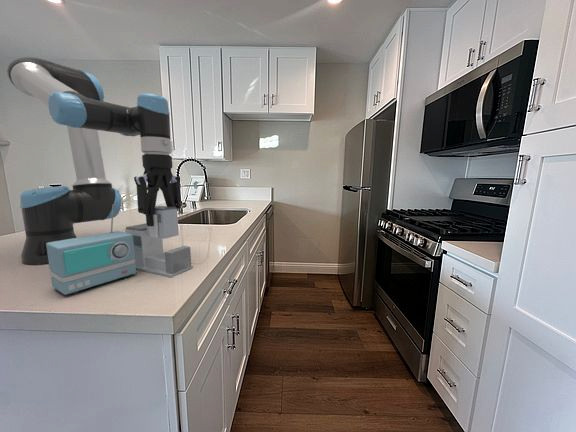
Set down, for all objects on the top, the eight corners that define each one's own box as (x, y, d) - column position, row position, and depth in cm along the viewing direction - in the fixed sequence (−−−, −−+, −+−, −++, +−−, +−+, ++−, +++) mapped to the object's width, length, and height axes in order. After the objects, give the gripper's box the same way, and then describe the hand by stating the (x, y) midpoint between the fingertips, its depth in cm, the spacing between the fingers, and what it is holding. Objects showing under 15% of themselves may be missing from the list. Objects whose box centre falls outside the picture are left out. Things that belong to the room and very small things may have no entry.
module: (146, 236, 74) (144, 207, 72) (161, 232, 78) (160, 205, 77) (163, 239, 71) (162, 209, 70) (178, 235, 76) (177, 207, 74)
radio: (66, 300, 57) (54, 212, 53) (52, 290, 61) (40, 208, 58) (139, 276, 70) (132, 205, 67) (122, 270, 75) (116, 202, 71)
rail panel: (124, 266, 77) (123, 255, 76) (147, 258, 84) (146, 248, 84) (171, 277, 69) (170, 265, 69) (192, 268, 77) (192, 256, 76)
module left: (126, 264, 77) (122, 227, 75) (148, 257, 84) (145, 223, 82) (142, 268, 74) (138, 229, 72) (163, 260, 81) (161, 225, 79)
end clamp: (166, 272, 71) (164, 252, 70) (185, 264, 78) (184, 245, 77) (172, 273, 70) (171, 253, 69) (191, 265, 77) (190, 246, 76)
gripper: (135, 150, 61) (143, 243, 65) (191, 156, 78) (195, 230, 81) (115, 151, 64) (124, 240, 68) (173, 156, 81) (178, 228, 84)
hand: (163, 234), depth 75 cm, fingers closed on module, 5 cm apart
